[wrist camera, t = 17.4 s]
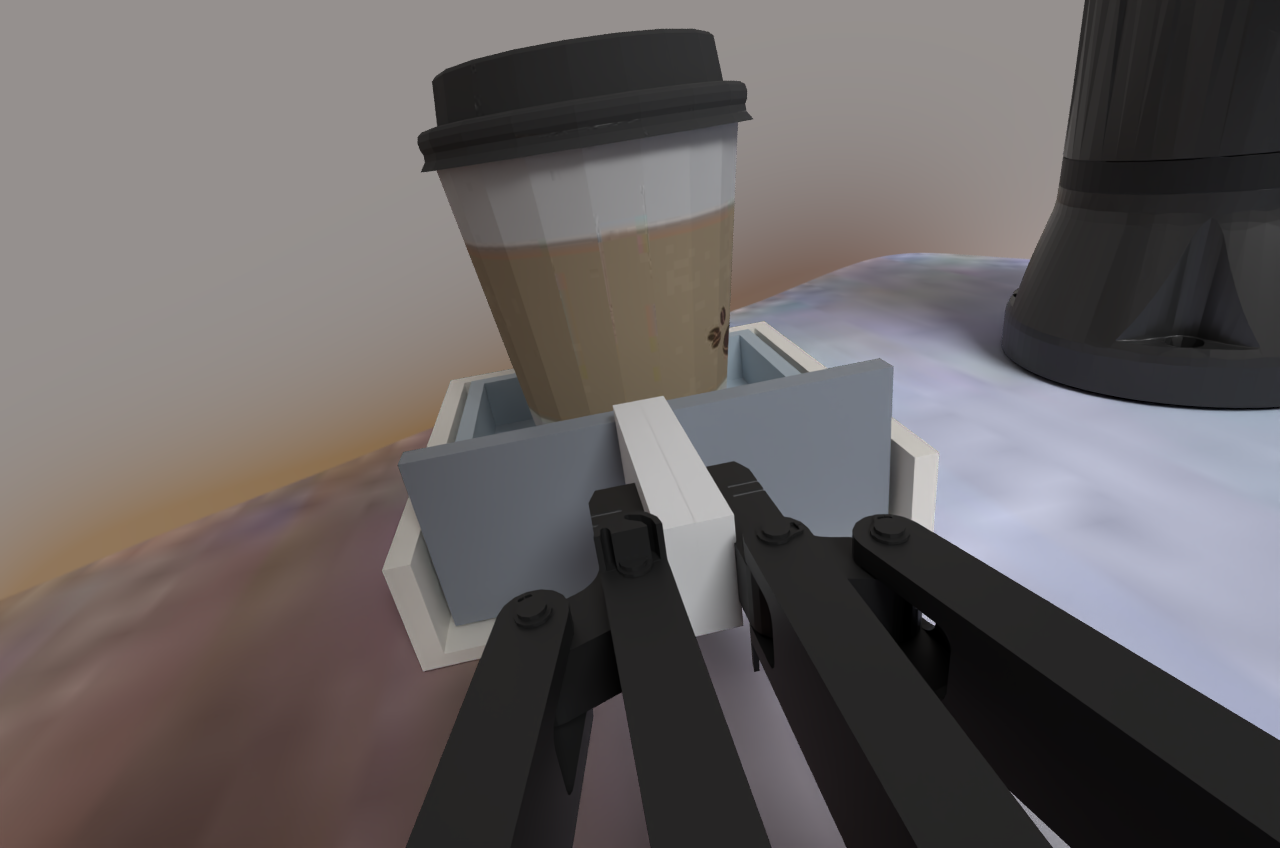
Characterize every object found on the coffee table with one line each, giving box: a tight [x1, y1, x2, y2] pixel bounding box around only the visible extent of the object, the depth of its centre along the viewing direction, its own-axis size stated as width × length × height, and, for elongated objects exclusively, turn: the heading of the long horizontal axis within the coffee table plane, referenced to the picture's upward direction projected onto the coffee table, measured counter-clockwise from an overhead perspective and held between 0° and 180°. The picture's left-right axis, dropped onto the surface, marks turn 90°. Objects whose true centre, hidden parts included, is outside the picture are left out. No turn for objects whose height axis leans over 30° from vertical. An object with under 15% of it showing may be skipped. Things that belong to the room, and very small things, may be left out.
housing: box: [382, 321, 939, 671], centre depth 26 cm, size 17×16×4 cm
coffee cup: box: [418, 29, 753, 426], centre depth 23 cm, size 11×11×15 cm
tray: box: [398, 329, 893, 626], centre depth 26 cm, size 15×14×6 cm
